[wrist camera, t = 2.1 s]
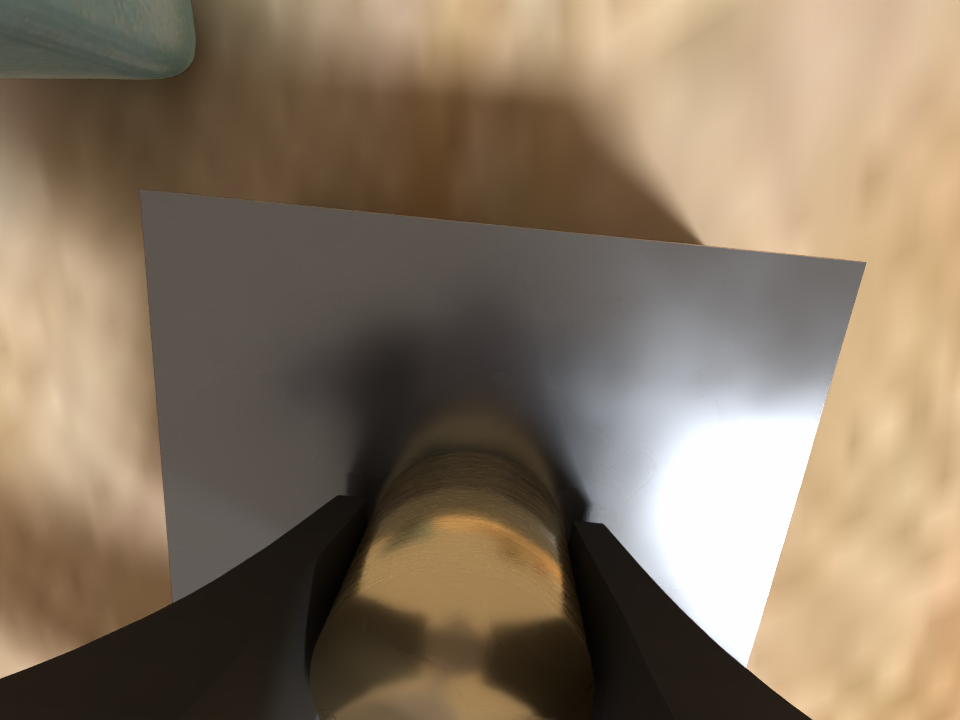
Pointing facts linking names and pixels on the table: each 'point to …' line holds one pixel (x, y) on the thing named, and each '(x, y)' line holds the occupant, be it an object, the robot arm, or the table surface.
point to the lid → (481, 430)
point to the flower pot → (95, 39)
